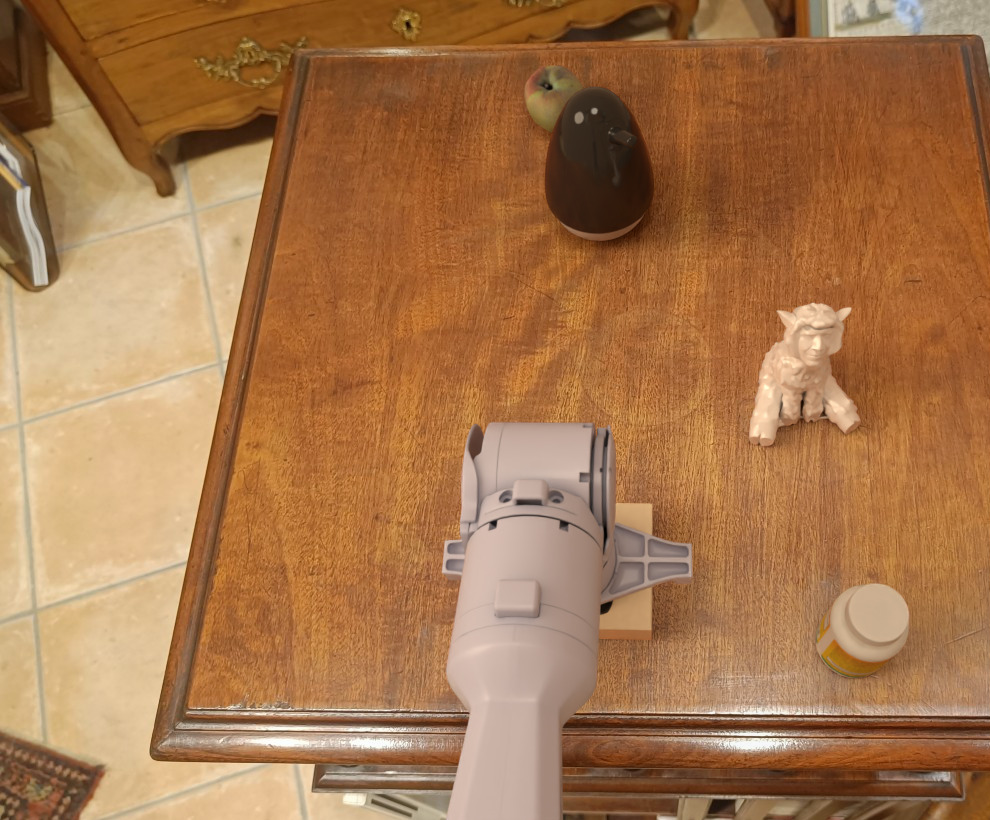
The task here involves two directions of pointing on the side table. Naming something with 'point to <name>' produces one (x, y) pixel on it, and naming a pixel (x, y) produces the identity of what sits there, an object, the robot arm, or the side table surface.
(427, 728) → the side table surface
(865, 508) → the side table surface
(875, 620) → the supplement bottle
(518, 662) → the robot arm
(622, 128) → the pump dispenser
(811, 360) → the white creature statuette
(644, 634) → the push button box
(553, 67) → the apple
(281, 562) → the side table surface
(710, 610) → the side table surface
